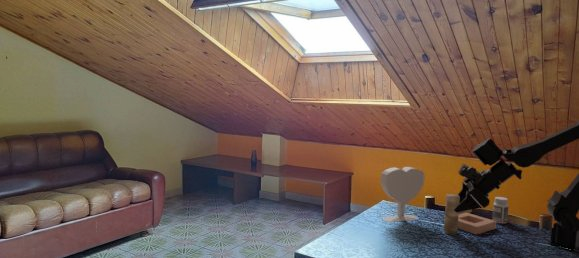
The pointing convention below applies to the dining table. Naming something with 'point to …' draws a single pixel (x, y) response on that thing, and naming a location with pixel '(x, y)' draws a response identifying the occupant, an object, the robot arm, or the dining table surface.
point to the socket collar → (475, 223)
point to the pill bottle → (500, 210)
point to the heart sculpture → (402, 188)
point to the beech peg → (451, 214)
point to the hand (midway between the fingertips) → (453, 207)
